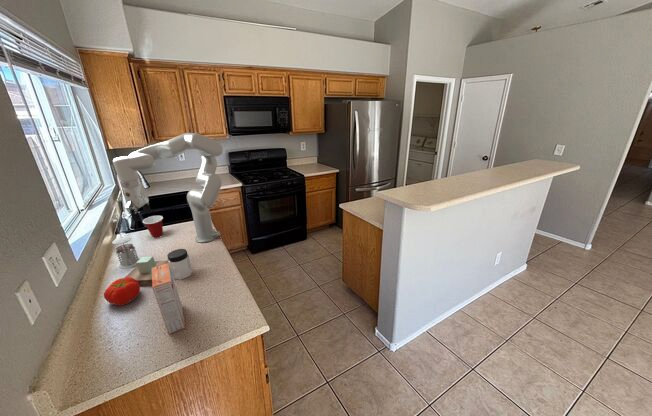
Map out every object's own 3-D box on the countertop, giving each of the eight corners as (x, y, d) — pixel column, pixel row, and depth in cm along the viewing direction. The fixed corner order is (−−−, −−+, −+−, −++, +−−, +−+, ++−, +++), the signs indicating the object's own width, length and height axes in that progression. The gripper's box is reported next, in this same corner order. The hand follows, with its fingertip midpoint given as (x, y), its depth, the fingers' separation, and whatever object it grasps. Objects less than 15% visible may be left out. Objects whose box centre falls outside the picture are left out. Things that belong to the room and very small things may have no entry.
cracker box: (165, 311, 103) (150, 267, 96) (182, 305, 106) (169, 261, 99) (167, 335, 92) (151, 287, 84) (186, 328, 95) (172, 280, 87)
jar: (168, 277, 124) (162, 256, 120) (182, 268, 131) (176, 247, 127) (183, 281, 122) (177, 258, 117) (196, 271, 129) (191, 249, 124)
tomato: (113, 294, 114) (106, 278, 111) (145, 287, 118) (140, 271, 115) (101, 314, 103) (94, 296, 100) (138, 305, 107) (132, 288, 104)
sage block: (156, 266, 128) (153, 256, 126) (150, 272, 123) (147, 262, 121) (145, 267, 128) (142, 256, 125) (139, 273, 123) (136, 262, 121)
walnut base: (174, 265, 134) (173, 260, 133) (158, 284, 119) (156, 279, 118) (142, 267, 133) (140, 262, 132) (122, 287, 119) (120, 281, 118)
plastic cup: (147, 241, 159) (142, 224, 155) (147, 235, 168) (142, 218, 163) (168, 236, 165) (163, 219, 161) (166, 230, 173) (162, 214, 169)
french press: (139, 256, 144) (125, 214, 135) (143, 264, 136) (129, 220, 127) (117, 263, 138) (101, 220, 129) (121, 272, 130) (104, 226, 121)
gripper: (128, 188, 114) (141, 223, 121) (148, 177, 130) (159, 209, 137) (110, 189, 114) (124, 224, 120) (133, 178, 130) (144, 210, 136)
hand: (142, 216), depth 129 cm, fingers open, 9 cm apart
